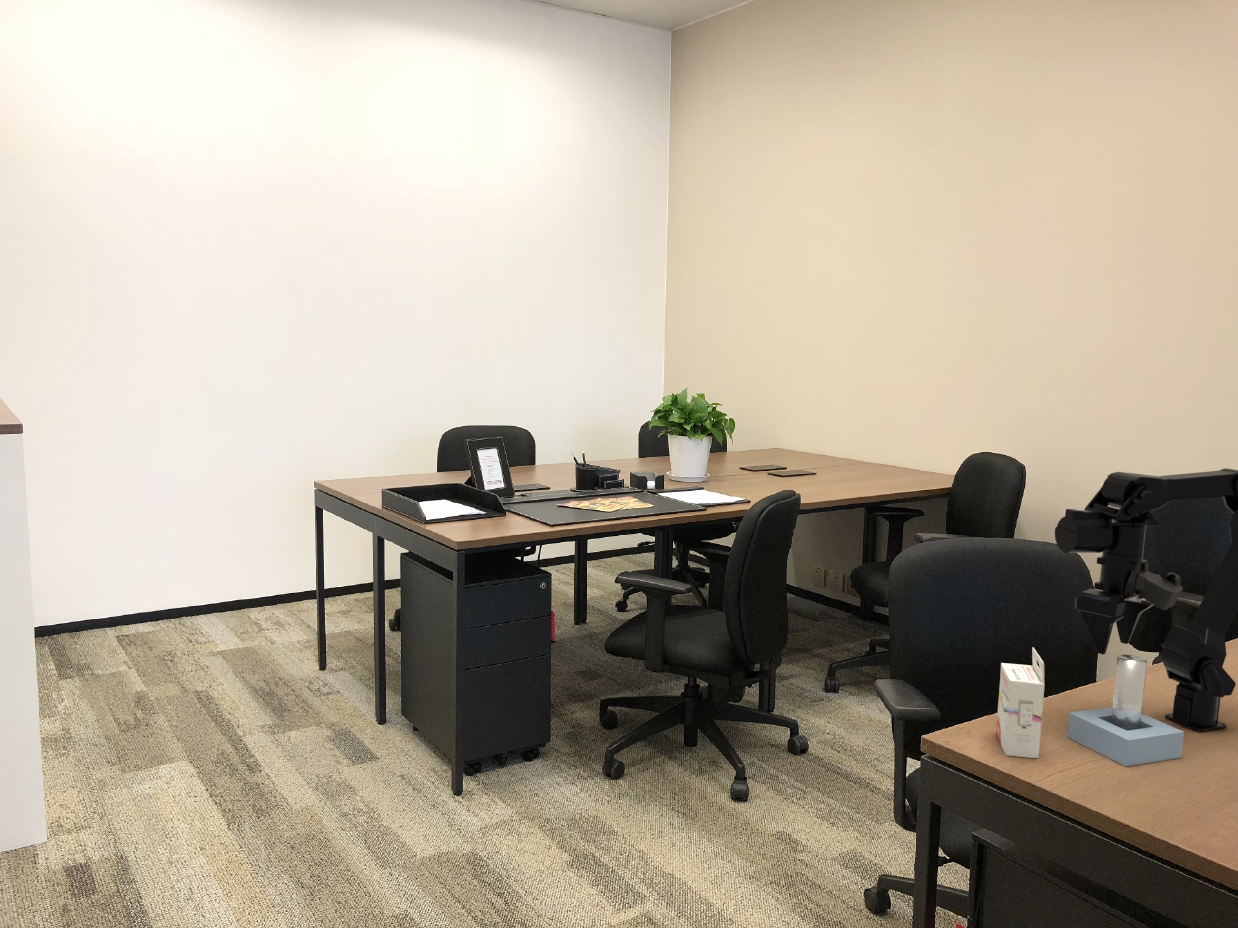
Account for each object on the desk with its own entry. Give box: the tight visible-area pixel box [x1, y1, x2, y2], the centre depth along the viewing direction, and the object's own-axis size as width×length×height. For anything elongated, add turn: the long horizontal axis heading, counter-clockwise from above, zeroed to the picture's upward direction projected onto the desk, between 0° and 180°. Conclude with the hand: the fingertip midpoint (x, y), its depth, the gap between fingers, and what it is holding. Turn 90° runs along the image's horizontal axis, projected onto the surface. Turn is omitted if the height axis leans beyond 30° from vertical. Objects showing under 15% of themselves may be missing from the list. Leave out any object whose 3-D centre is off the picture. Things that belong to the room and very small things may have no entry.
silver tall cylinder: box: [1111, 654, 1148, 731], centre depth 146 cm, size 4×4×14 cm
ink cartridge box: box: [995, 646, 1045, 759], centre depth 145 cm, size 9×5×15 cm, turn 168°
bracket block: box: [1066, 706, 1185, 767], centre depth 146 cm, size 11×11×4 cm
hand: (1113, 648), depth 153 cm, fingers open, 9 cm apart
